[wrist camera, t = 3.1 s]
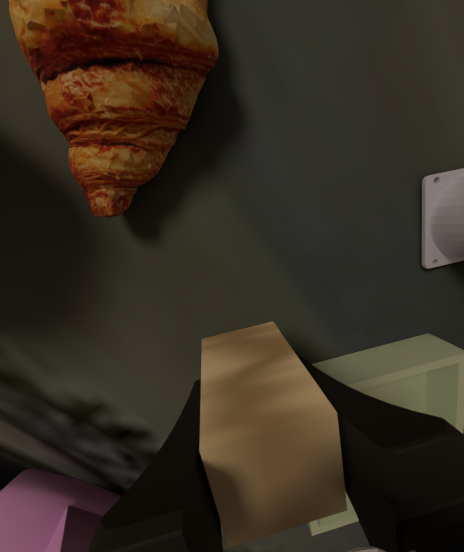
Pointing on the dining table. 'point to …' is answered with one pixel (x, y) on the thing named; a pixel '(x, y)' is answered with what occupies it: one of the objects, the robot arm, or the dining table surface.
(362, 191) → the dining table surface
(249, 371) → the oak block
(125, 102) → the croissant
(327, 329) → the dining table surface
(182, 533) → the robot arm
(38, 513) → the teakettle
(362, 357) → the sage bin
